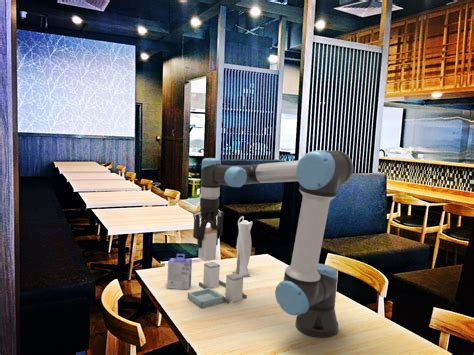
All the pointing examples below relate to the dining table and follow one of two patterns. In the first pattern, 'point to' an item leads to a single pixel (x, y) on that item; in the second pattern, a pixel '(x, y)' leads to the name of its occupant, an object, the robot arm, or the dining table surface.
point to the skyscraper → (243, 247)
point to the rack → (232, 282)
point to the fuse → (209, 244)
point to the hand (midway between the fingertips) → (207, 254)
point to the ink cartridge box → (179, 272)
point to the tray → (205, 297)
